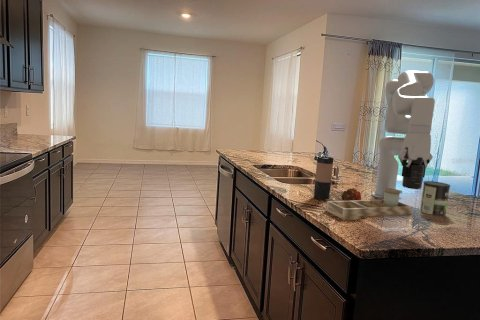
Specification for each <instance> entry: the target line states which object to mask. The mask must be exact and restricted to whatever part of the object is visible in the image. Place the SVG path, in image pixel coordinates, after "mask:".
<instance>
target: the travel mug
mask: <svg viewBox="0 0 480 320" xmlns="http://www.w3.org/2000/svg"><path fill="white" fill-rule="evenodd" d="M315 167H316V168H315V177H314V191H313V197H314V198H313V199H316V200H318V201H326V200H329V199H330V193H331V188H332V187H331V186H332V176H333V167H334V158H333V157H331V156H320V157H319V156H317V159H316V166H315Z"/></svg>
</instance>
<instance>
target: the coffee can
mask: <svg viewBox="0 0 480 320" xmlns="http://www.w3.org/2000/svg"><path fill="white" fill-rule="evenodd" d="M450 188H451V184H449V183H445V182H439V181H433V180H423V181H422V194H421V200H420V208H419V211H420V212H421V213H424V214H427V215H432V216H446V215H447V209H448V208H447V207H448V200H449V194H450Z"/></svg>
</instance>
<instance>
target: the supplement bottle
mask: <svg viewBox="0 0 480 320" xmlns="http://www.w3.org/2000/svg"><path fill="white" fill-rule="evenodd" d="M422 159H423V158H421V157H419V158H417V160H412V162H411V164H410V166H409V167H410V175H409V178H407V177H403V176H402V182H401V185H402V187H403V188H406V189H411V190H420V189H422V188H423V182H424V177H423V174H424V165H423V164H421V163H422V162H423V161H422Z"/></svg>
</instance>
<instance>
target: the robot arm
mask: <svg viewBox="0 0 480 320" xmlns="http://www.w3.org/2000/svg"><path fill="white" fill-rule="evenodd" d="M434 82H435V79H434V75H433V74H432V72H430V71H424V70H423V71H420V70H406V71H402V72H401V73H400V74H399V75H398V77H397V78H396V79H392V80H389V81H388V82H386V85H385V91H384V92H385V99H386V103H387V104H386V105H387V106H386V116H385V124H384V129H385V133H388V134H394V135H393V136H392V135H385V136H383V137H381V138H380V140H379V143H378V148H379V149H378V150H379V157H378V167H377V176H376V182H375V183H376V184H375V191H373V192H371V196H372V197H374V198H377V199H384V193H385V191H384V189H385V188H392V189H397V188H396V187H397V182H398V181H397V180H398V174H399V162H400V164H401V166H402V170H401V177H402V178H403V177H407V178H409V175H410V167H409V166H410V164H411V162H412V160H417V158H419V157H421V158H423V159H422V161H423V162H422V163H421V164H423V165H424V174H423V178H425V175H426V170H427V169H426V168H428V165H429V164H430V162H431V161H432V160H433V157H434V156H433V155H432V154H431V148H432V147H431V146H432V134H431V131H432V125H433V118H434V111H435V106H436V105H435V104H436V100H435V98H434V97H431V96H426V95H427V94H428V93H429V92H430V91H431V90H432V88H433V86H434ZM395 134H396V135H404V136H395ZM396 156H397V158H398V159H399V161H398V160H397V159H396ZM399 190H400V195H401V194H403V190H402V189H399Z"/></svg>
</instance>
